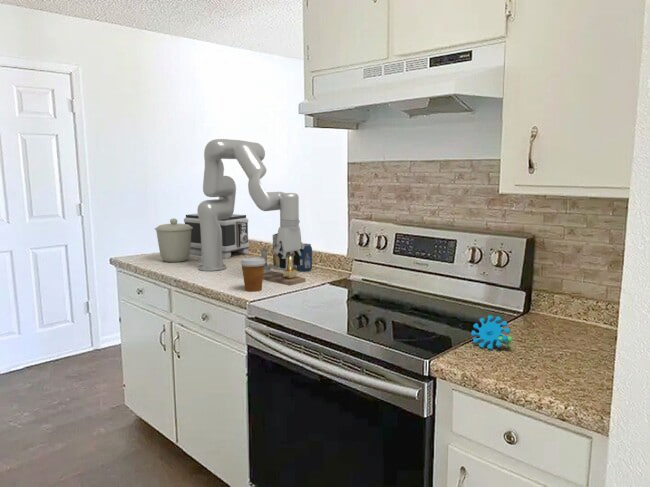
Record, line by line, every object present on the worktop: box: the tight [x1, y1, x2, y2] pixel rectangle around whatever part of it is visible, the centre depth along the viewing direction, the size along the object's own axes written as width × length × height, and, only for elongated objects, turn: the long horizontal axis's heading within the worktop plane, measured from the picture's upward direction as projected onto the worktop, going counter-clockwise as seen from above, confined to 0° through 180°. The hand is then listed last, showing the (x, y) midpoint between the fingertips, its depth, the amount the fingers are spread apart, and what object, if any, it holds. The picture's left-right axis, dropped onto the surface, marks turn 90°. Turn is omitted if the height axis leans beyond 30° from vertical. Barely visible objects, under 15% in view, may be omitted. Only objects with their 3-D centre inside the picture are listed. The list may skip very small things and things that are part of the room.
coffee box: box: [272, 232, 297, 270], centre depth 235 cm, size 9×6×16 cm
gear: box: [470, 314, 514, 351], centre depth 137 cm, size 11×6×10 cm
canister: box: [154, 217, 193, 263], centre depth 253 cm, size 18×18×21 cm
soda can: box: [296, 243, 313, 273], centre depth 231 cm, size 7×7×12 cm
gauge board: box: [260, 248, 306, 286], centre depth 214 cm, size 24×9×12 cm, turn 47°
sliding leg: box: [282, 255, 298, 279], centre depth 209 cm, size 4×6×9 cm, turn 138°
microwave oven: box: [183, 213, 250, 260], centre depth 272 cm, size 18×34×21 cm, turn 58°
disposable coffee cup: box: [239, 256, 265, 293], centre depth 196 cm, size 10×10×12 cm
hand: (289, 266), depth 209 cm, fingers open, 7 cm apart
